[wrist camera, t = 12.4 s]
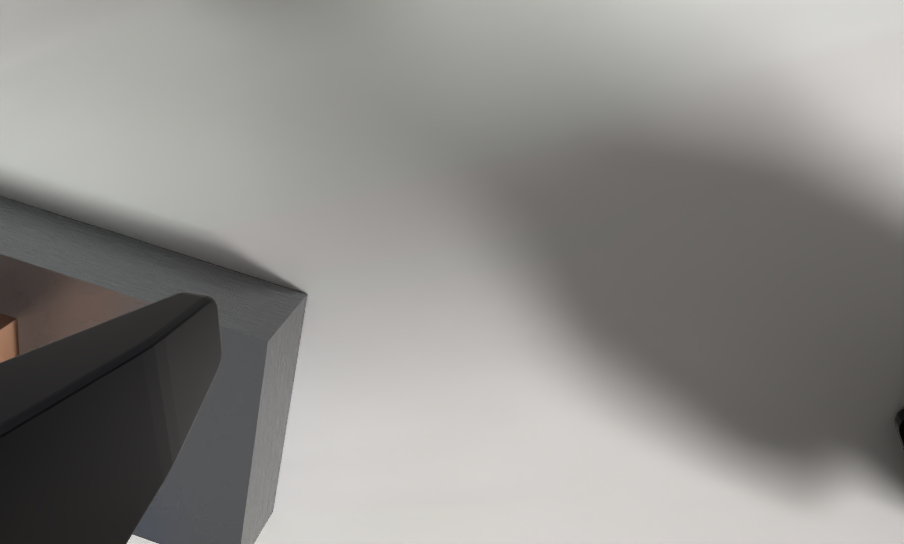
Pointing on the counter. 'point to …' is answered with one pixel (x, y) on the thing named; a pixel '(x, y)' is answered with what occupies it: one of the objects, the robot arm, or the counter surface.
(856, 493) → the counter surface
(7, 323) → the square peg
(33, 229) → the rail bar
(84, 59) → the counter surface
